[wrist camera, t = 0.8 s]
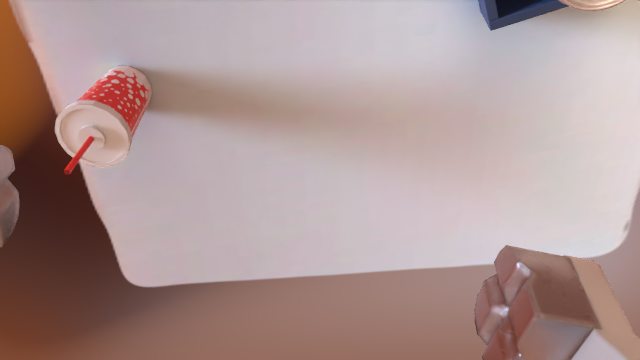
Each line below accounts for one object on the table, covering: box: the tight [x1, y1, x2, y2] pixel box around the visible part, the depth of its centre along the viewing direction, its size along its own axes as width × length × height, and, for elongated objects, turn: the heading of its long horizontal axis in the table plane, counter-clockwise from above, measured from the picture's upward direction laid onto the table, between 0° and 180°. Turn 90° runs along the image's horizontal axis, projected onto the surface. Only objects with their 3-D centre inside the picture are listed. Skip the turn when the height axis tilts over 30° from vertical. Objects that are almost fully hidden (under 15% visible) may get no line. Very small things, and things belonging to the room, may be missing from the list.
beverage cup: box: [55, 66, 152, 174], centre depth 48 cm, size 6×6×14 cm
